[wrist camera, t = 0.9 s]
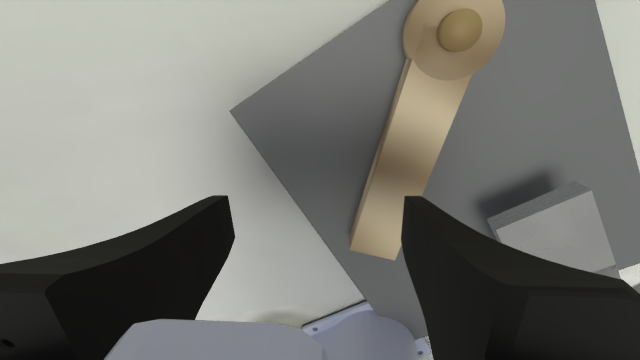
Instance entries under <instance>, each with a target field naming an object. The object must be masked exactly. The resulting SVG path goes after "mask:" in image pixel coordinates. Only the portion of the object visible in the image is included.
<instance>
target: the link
mask: <svg viewBox="0 0 640 360" xmlns="http://www.w3.org/2000/svg"><path fill="white" fill-rule="evenodd" d="M504 29H505V9H504V5H503V2H502V0H417V1H416V2H415V3H414V5H413V6H412V8H411V9H410V11H409V13H408V15H407V17H406V19H405V22H404V26H403V30H402V46H403V51H404V54H405V56H406V61H405V64H404V67H403V70H402V73H401V76H400V80H399V83H398V86H397V89H396V92H395V95H394V98H393V101H392V104H391V108H390V111H389V114H388V117H387V120H386V123H385V126H384V129H383V132H382V136H381V139H380V142H379V145H378V148H377V151H376V154H375V157H374V161H373V164H372V167H371V170H370V173H369V176H368V179H367V182H366V185H365V189H364V192H363V195H362V198H361V201H360V204H359V207H358V210H357V213H356V217H355V220H354V223H353V226H352V229H351V232H350V235H349V250H352V251H356V252H361V253H365V254H369V255H373V256H378V257H382V258H386V259H391V260H395V259H396V257H397V254H398V252H399V250H400V247H401V245H402V243H401V231H402V220H403V208H404V197H405V196H422V194H423V192H424V189H425V187H426V184H427V182H428V180H429V177H430V175H431V172H432V170H433V168H434V165H435V163H436V160H437V158H438V156H439V153H440V151H441V148H442V146H443V144H444V141H445V139H446V136H447V134H448V131H449V129H450V127H451V124H452V122H453V119H454V117H455V115H456V112H457V110H458V107H459V105H460V103H461V100H462V98H463V95H464V93H465V90H466V88H467V86H468V83H469V81H470V78H471V76H472V74H473V73H475V72H476V71H478V70H479V69H481V68H482V67H483V66H484V65H485V64H486V63H487V62H488V61H489V60H490V59H491V57H492V56H493V55H494V53H495V52H496V50H497V49H498V47H499V45H500V42H501V40H502V37H503V33H504Z"/></svg>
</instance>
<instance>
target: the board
mask: <svg viewBox="0 0 640 360" xmlns="http://www.w3.org/2000/svg"><path fill="white" fill-rule="evenodd" d="M416 1H417V0H389V1H388V2H386V3H385V4H383V5H382V6H381V7H379V8H378V9H376V10H375V11H373V12H372V13H370V14H369V15H368V16H366V17H365V18H363V19H362V20H360V21H359V22H357V23H356V24H354V25H353V26H352V27H350V28H349V29H347V30H346V31H344V32H343V33H341V34H340V35H339V36H337V37H336V38H334V39H333V40H331V41H330V42H328V43H327V44H326V45H324V46H323V47H321V48H320V49H318V50H317V51H315V52H314V53H313V54H311V55H310V56H308V57H307V58H305V59H304V60H302V61H301V62H299V63H298V64H297V65H295V66H294V67H292V68H291V69H289V70H288V71H286V72H285V73H284V74H282V75H281V76H279V77H278V78H276V79H275V80H273V81H272V82H271V83H269V84H268V85H266V86H265V87H263V88H262V89H260V90H259V91H257V92H256V93H255V94H253V95H252V96H250V97H249V98H247V99H246V100H244V101H243V102H242V103H240V104H239V105H237V106H236V107H234V108H233V109H231V110H230V113H231V114H232V115H233V117H234V118H235V120H236V121H237V122H238V124H239V125H240V126H241V128H242V129H243V131H244V132H245V133H246V135H247V136H248V137H249V139H250V140H251V142H252V143H253V144H254V146H255V147H256V149H257V150H258V151H259V153H260V154H261V155H262V157H263V158H264V160H265V161H266V162H267V164H268V165H269V166H270V168H271V169H272V171H273V172H274V173H275V175H276V176H277V177H278V179H279V180H280V182H281V183H282V184H283V186H284V187H285V189H286V190H287V191H288V193H289V194H290V195H291V197H292V198H293V200H294V201H295V202H296V204H297V205H298V206H299V208H300V209H301V211H302V212H303V213H304V215H305V216H306V217H307V219H308V220H309V222H310V223H311V224H312V226H313V227H314V229H315V230H316V231H317V233H318V234H319V235H320V237H321V238H322V240H323V241H324V242H325V244H326V245H327V246H328V248H329V249H330V251H331V252H332V253H333V255H334V256H335V258H336V259H337V260H338V262H339V263H340V264H341V266H342V267H343V269H344V270H345V271H346V273H347V274H348V275H349V277H350V278H351V280H352V281H353V282H354V284H355V285H356V286H357V288H358V289H359V291H360V292H361V293H362V295H363V296H364V298H365V299H366V300H367V302H368V303H369V304H370V306H371V307H372V309H373V310H374V311H375V313H376V314H377V315H378V316H381V317H387V318H390V319H393V320H396V321H398V322H400V323H402V324H403V325H404V326H406V327H407V328H408V329H409V331H410V332H411V333H412V335H413V337H414V340H417V339H420V338H423V337H426V336H428V332H427V327H426V323H425V319H424V316H423V312H422V309H421V306H420V303H419V300H418V297H417V294H416V292H415V289H414V286H413V283H412V280H411V277H410V274H409V271H408V268H407V266H406V263H405V259H404V254H403V249H402V245H401V247H400V250H399V252H398V254H397V257H396V259H395V260H391V259H386V258H382V257H378V256H373V255H369V254H365V253H361V252H356V251H352V250H349V235H350V232H351V229H352V226H353V223H354V220H355V217H356V213H357V210H358V207H359V204H360V201H361V198H362V195H363V192H364V189H365V185H366V182H367V179H368V176H369V173H370V170H371V167H372V164H373V161H374V157H375V154H376V151H377V148H378V145H379V142H380V139H381V136H382V132H383V129H384V126H385V123H386V120H387V117H388V114H389V111H390V108H391V104H392V101H393V98H394V95H395V92H396V89H397V86H398V83H399V80H400V76H401V73H402V70H403V67H404V64H405V61H406V56H405V54H404V51H403V46H402V30H403V26H404V22H405V19H406V17H407V15H408V13H409V11H410V9H411V8H412V6H413V5H414V3H415V2H416ZM502 2H503V5H504V9H505V29H504V33H503V37H502V40H501V42H500V45H499V47H498V49H497V50H496V52H495V53H494V55H493V56H492V57H491V59H490V60H489V61H488V62H487V63H486V64H485V65H484V66H483V67H482V68H481V69H479V70H478V71H476V72H475V73H473V74H472V76H471V78H470V81H469V83H468V86H467V88H466V90H465V93H464V95H463V98H462V100H461V103H460V105H459V107H458V110H457V112H456V115H455V117H454V119H453V122H452V124H451V127H450V129H449V131H448V134H447V136H446V139H445V141H444V144H443V146H442V148H441V151H440V153H439V156H438V158H437V160H436V163H435V165H434V168H433V170H432V172H431V175H430V177H429V180H428V182H427V184H426V187H425V189H424V192H423V194H422V197H424V198H425V199H427V200H428V201H430V202H431V203H433V204H434V205H436V206H437V207H439V208H440V209H442V210H443V211H444V212H446V213H448V214H449V215H451V216H452V217H454V218H455V219H457V220H458V221H460V222H462V223H463V224H465V225H467V226H469V227H470V228H472V229H474V230H476V231H478V232H480V233H481V234H483V235H486V236H488V237H490V238H492V239H494V240H496V238H495V235H494V233H493V231H492V229H491V227H490V225H489V223H488V221H487V219H488V218H490V217H493V216H495V215H497V214H500V213H502V212H504V211H507V210H509V209H511V208H514V207H516V206H518V205H521V204H523V203H525V202H528V201H530V200H532V199H535V198H537V197H539V196H542V195H544V194H546V193H548V192H551V191H553V190H555V189H558V188H560V187H562V186H565V185H567V184H569V183H572V182H574V181H576V182H578V183H580V184H582V185H583V186H585V187H587V188H589V189H591V190H592V193H593V196H594V199H595V202H596V205H597V208H598V211H599V214H600V217H601V220H602V223H603V226H604V229H605V232H606V236H607V239H608V242H609V245H610V248H611V251H612V254H613V257H614V260H615V263H616V266H617V269H618V270H621V269H624V268H627V267H630V266H633V265H636V264H638V263H640V173H639V169H638V165H637V162H636V158H635V154H634V150H633V146H632V142H631V138H630V135H629V131H628V127H627V123H626V119H625V115H624V111H623V107H622V104H621V100H620V96H619V92H618V88H617V84H616V80H615V76H614V73H613V69H612V65H611V61H610V57H609V53H608V49H607V46H606V42H605V38H604V34H603V30H602V26H601V22H600V18H599V15H598V11H597V7H596V3H595V0H502ZM496 241H497V240H496Z"/></svg>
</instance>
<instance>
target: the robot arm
mask: <svg viewBox="0 0 640 360" xmlns="http://www.w3.org/2000/svg"><path fill="white" fill-rule="evenodd" d="M234 239H235V234H234V228H233V223H232V217H231V211H230V205H229V200H228V196H211V197H208V198H205V199H203V200H201V201H199V202H197V203H194V204H192V205H190V206H188V207H186V208H184V209H182V210H180V211H178V212H176V213H174V214H172V215H170V216H168V217H165V218H163V219H161V220H159V221H157V222H154V223H152V224H150V225H148V226H145V227H143V228H140V229H138V230H135V231H133V232H130V233H127V234H124V235H122V236H119V237H116V238H113V239H109V240H106V241H103V242H99V243H96V244H93V245H89V246H86V247H82V248H78V249H74V250H70V251H66V252H62V253H57V254H53V255H48V256H43V257H39V258H33V259H27V260H22V261H16V262H10V263H5V264H0V360H419V357H421V356H425V355H428V354H429V353H430V352H431V349H432V354H433V359H434V360H640V294H639V293H638V292H637V291H636V290H634V289H633V288H632V287H631V286H630V285H628V284H627V283H626V282H625V281H624V280H622V279H618V278H613V277H609V276H605V275H601V274H597V273H592V272H588V271H584V270H580V269H576V268H572V267H569V266H565V265H562V264H559V263H555V262H552V261H549V260H545V259H542V258H539V257H537V256H534V255H531V254H528V253H525V252H523V251H520V250H518V249H515V248H512V247H510V246H507V245H505V244H503V243H500V242H498V241H496V240H494V239H492V238H490V237H488V236H486V235H483V234H481V233H480V232H478V231H476V230H474V229H472V228H470V227H469V226H467V225H465V224H463V223H462V222H460V221H458V220H457V219H455V218H454V217H452V216H451V215H449V214H448V213H446V212H444V211H443V210H442V209H440V208H439V207H437V206H436V205H434V204H433V203H431V202H430V201H428V200H427V199H425V198H424V197H422V196H405V197H404V208H403V220H402V231H401V243H402V249H403V254H404V259H405V263H406V266H407V268H408V271H409V274H410V277H411V280H412V283H413V286H414V289H415V292H416V294H417V297H418V300H419V303H420V306H421V309H422V312H423V316H424V319H425V323H426V327H427V332H428V336H429V340H430V345H431V349H430V346H429V344H428V343H427V341H426V340H425V338H424V337H423V338H420V339H417V340H414V337H413V335H412V333H411V332H410V331H409V329H408V328H407V327H406V326H404V325H403V324H402V323H400V322H398V321H396V320H393V319H390V318H387V317H381V316H378V315H377V314H376V313H375V311H374V310H373V309H372V307H371V306H370V304H369V303H368V302H367V301H366V302H363V303H361V304H358V305H356V306H353V307H351V308H348V309H346V310H343V311H341V312H338V313H336V314H333V315H331V316H328V317H326V318H323V319H321V320H318V321H316V322H313V323H311V324H308V325H306V326H303V327H302V328H301V329H299V328H295V327H290V326H286V325H282V324H277V323H260V322H232V321H205V320H195V318H196V316H197V313H198V311H199V309H200V307H201V305H202V303H203V301H204V300H205V298H206V296H207V294H208V292H209V291H210V289H211V287H212V285H213V283H214V282H215V280H216V278H217V276H218V274H219V273H220V271H221V269H222V267H223V265H224V263H225V262H226V260H227V258H228V255H229V253H230V250H231V248H232V245H233V242H234ZM314 327H316V328H314Z"/></svg>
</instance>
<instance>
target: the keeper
mask: <svg viewBox="0 0 640 360" xmlns="http://www.w3.org/2000/svg"><path fill="white" fill-rule="evenodd" d="M487 221H488V223H489V225H490V227H491V229H492V231H493V233H494V235H495V238H496V240H497V241H498V242H500V243H503V244H505V245H507V246H510V247H512V248H515V249H518V250H520V251H523V252H525V253H528V254H531V255H534V256H537V257H539V258H542V259H545V260H549V261H552V262H555V263H559V264H562V265H565V266H569V267H572V268H576V269H580V270H584V271H588V272H592V273H597V274H601V275H605V276H609V277H613V278H618V279H621V278H620V275H619V272H618V269H617V266H616V263H615V260H614V257H613V254H612V251H611V248H610V245H609V242H608V239H607V236H606V232H605V229H604V226H603V223H602V220H601V217H600V214H599V211H598V208H597V205H596V202H595V199H594V196H593V193H592V190H591V189H589V188H587V187H585V186H583V185H582V184H580V183H578V182H576V181H574V182H572V183H569V184H567V185H565V186H562V187H560V188H558V189H555V190H553V191H551V192H548V193H546V194H544V195H542V196H539V197H537V198H535V199H532V200H530V201H528V202H525V203H523V204H521V205H518V206H516V207H514V208H511V209H509V210H507V211H504V212H502V213H500V214H497V215H495V216H493V217H490V218H488V219H487Z"/></svg>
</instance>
